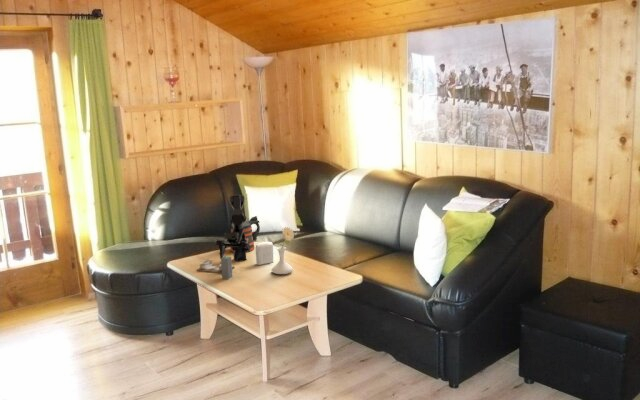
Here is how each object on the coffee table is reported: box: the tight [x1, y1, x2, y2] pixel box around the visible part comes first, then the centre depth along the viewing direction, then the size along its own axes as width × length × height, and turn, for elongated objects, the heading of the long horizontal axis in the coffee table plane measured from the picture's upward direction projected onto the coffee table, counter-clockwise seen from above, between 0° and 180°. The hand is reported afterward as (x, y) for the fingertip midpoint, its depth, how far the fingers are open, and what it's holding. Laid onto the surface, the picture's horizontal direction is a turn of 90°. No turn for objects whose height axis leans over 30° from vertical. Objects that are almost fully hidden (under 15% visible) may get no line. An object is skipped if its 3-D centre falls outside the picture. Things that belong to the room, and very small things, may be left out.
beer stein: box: [229, 215, 261, 253], centre depth 364 cm, size 19×15×20 cm
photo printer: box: [255, 241, 274, 266], centre depth 336 cm, size 10×4×12 cm, turn 123°
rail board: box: [196, 259, 235, 274], centre depth 328 cm, size 18×10×4 cm, turn 70°
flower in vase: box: [271, 226, 295, 275], centre depth 318 cm, size 13×11×25 cm
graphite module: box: [220, 255, 233, 280], centre depth 313 cm, size 4×4×11 cm
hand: (228, 259), depth 315 cm, fingers open, 9 cm apart
